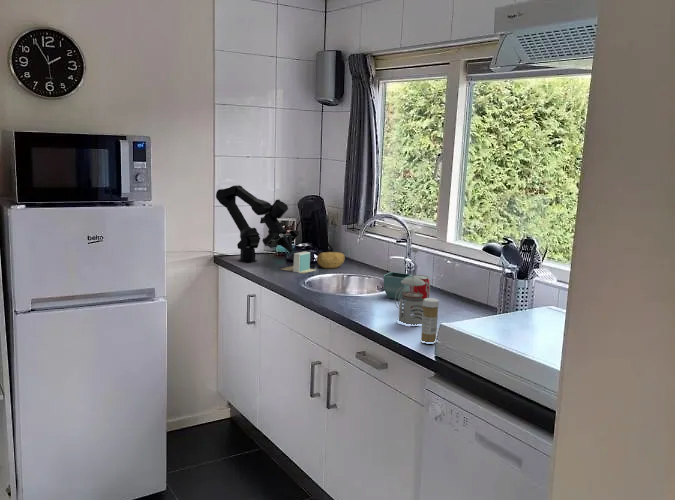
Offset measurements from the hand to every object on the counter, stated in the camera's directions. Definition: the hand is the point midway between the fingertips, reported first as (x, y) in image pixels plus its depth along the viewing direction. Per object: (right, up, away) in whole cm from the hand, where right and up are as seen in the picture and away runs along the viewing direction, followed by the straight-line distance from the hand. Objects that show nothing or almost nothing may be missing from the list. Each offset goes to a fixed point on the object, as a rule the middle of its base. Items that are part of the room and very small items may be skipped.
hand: (291, 252), depth 279 cm
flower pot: (+43, -18, -39) cm, 61 cm away
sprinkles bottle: (+47, -27, -92) cm, 107 cm away
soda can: (+49, -21, -55) cm, 76 cm away
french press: (+44, -23, -72) cm, 88 cm away
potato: (+17, -8, +9) cm, 21 cm away
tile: (+4, -8, -2) cm, 10 cm away
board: (+3, -9, 0) cm, 9 cm away
